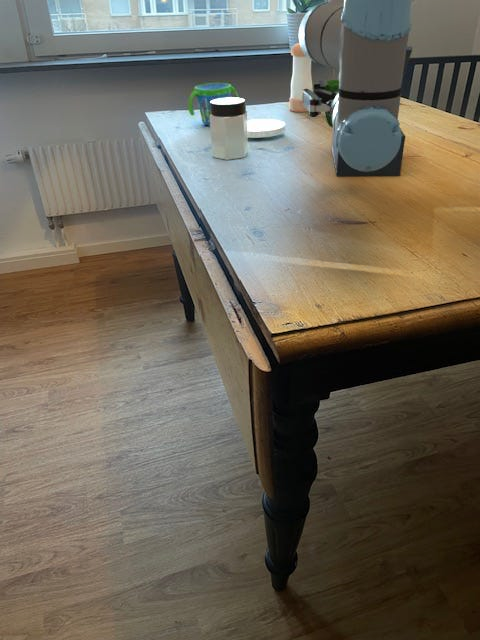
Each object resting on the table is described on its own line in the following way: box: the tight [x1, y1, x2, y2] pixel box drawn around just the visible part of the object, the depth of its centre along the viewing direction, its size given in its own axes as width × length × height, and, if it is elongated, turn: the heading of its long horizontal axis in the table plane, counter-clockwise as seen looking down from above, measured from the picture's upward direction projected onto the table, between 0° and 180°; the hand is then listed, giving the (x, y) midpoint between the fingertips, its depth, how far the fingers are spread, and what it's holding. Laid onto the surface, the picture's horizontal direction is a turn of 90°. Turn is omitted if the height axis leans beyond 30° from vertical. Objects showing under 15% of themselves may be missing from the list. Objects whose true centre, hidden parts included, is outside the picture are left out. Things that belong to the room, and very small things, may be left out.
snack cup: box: [187, 82, 239, 127], centre depth 144 cm, size 16×10×10 cm
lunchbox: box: [331, 128, 406, 177], centre depth 109 cm, size 20×13×8 cm, turn 174°
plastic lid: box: [247, 118, 286, 139], centre depth 133 cm, size 14×14×2 cm
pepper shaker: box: [288, 43, 313, 113], centre depth 153 cm, size 7×7×19 cm
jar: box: [209, 97, 249, 161], centre depth 116 cm, size 9×8×12 cm
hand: (345, 87), depth 91 cm, fingers closed on bell pepper, 8 cm apart
